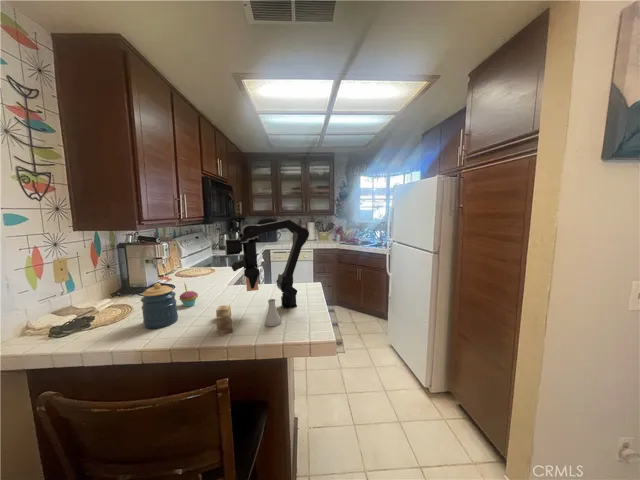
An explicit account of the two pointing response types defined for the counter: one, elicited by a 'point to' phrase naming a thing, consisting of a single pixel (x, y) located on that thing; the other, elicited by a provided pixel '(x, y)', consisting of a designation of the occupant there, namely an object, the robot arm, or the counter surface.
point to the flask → (272, 314)
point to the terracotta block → (250, 285)
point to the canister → (159, 307)
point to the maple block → (223, 311)
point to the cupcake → (188, 297)
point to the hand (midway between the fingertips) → (252, 286)
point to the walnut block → (224, 325)
